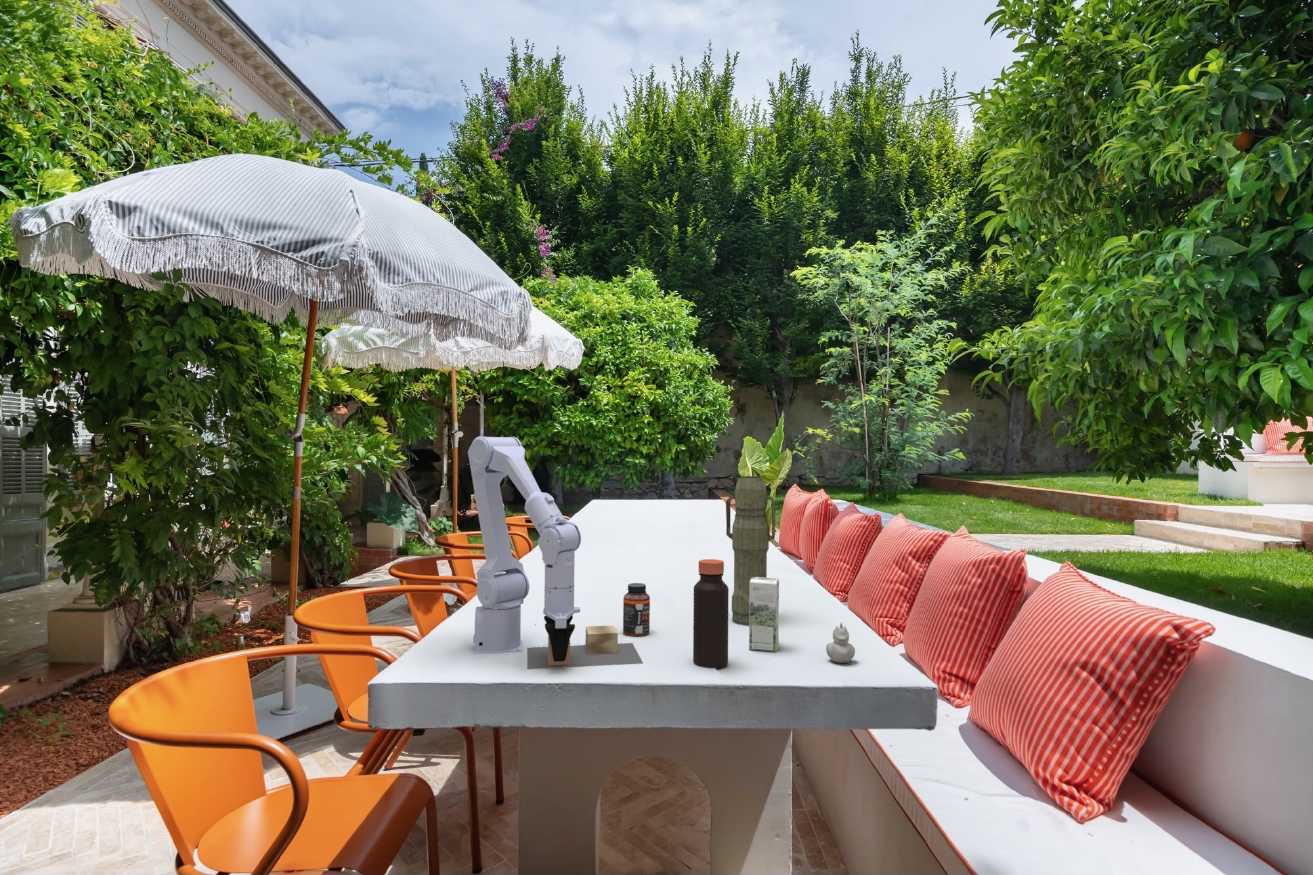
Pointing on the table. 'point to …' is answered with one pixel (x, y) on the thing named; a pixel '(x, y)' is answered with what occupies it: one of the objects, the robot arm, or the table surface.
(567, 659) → the terracotta block
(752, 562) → the thermos
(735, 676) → the table surface
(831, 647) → the rubber duck
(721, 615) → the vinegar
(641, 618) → the supplement bottle
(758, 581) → the syrup box
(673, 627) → the table surface
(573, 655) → the mat
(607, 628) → the oak block
